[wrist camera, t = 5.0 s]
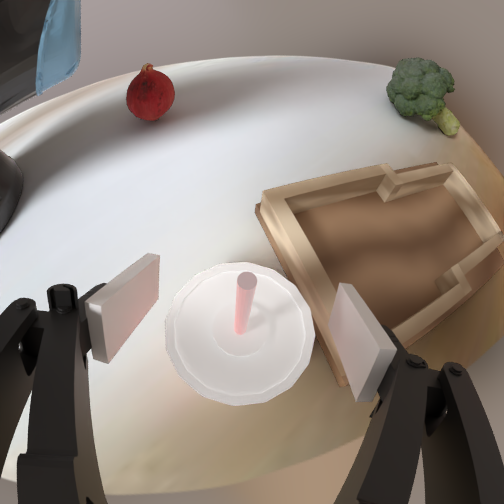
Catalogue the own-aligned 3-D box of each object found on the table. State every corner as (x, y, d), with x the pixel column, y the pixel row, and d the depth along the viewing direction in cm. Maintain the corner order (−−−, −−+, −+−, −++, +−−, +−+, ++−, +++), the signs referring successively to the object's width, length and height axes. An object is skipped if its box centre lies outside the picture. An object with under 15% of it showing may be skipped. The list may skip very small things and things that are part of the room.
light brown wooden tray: (254, 212, 25) (258, 183, 22) (432, 168, 31) (445, 148, 28) (339, 386, 18) (361, 383, 15) (499, 267, 24) (518, 252, 21)
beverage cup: (230, 418, 17) (229, 468, 4) (175, 351, 19) (83, 260, 6) (297, 363, 19) (409, 293, 7) (241, 301, 21) (259, 154, 9)
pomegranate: (171, 132, 30) (163, 73, 23) (126, 134, 30) (112, 79, 23) (181, 106, 33) (176, 53, 26) (140, 109, 32) (130, 58, 25)
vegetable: (465, 156, 31) (406, 79, 27) (415, 153, 43) (359, 95, 39) (486, 106, 29) (433, 34, 24) (438, 110, 41) (388, 53, 36)
